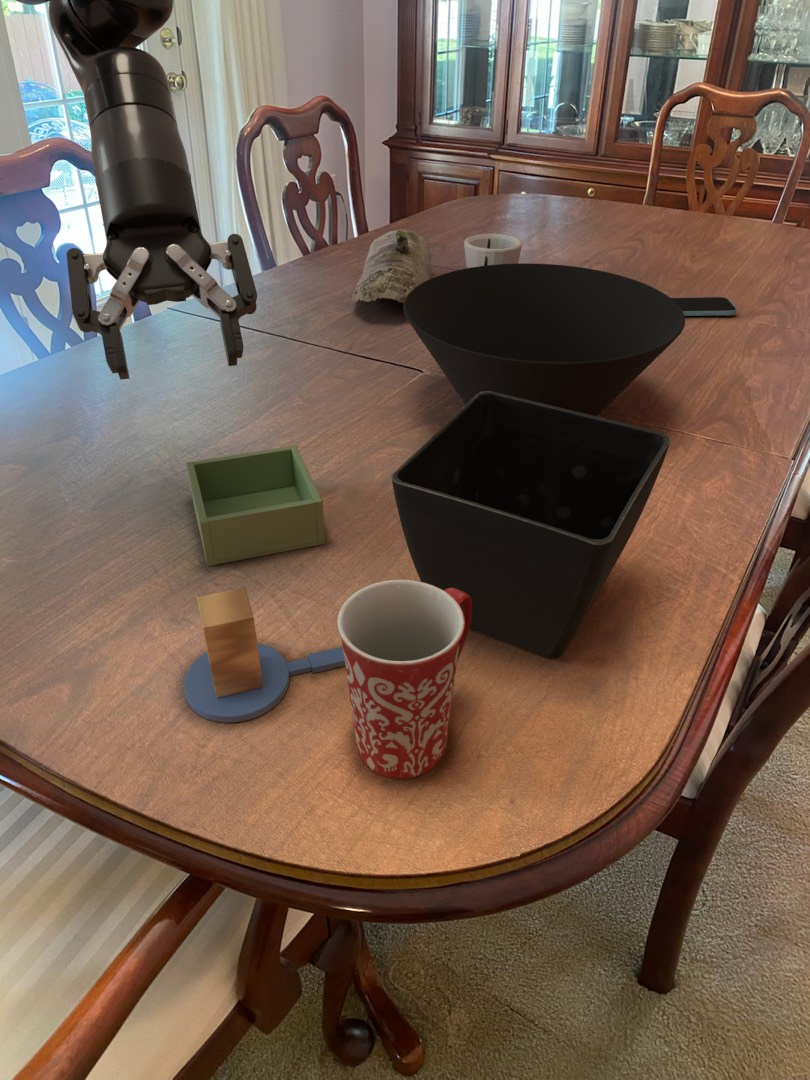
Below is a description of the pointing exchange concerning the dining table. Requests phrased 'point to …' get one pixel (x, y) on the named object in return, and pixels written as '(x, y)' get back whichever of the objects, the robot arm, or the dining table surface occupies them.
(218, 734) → the dining table surface
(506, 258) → the mug
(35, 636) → the dining table surface
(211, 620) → the wooden block
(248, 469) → the green storage bin
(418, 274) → the log
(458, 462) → the flower pot
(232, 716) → the blue ping pong paddle
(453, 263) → the dining table surface
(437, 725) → the mug
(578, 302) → the bowl
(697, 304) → the smartphone
